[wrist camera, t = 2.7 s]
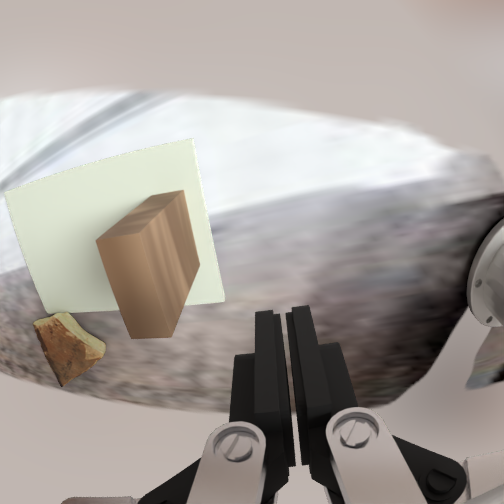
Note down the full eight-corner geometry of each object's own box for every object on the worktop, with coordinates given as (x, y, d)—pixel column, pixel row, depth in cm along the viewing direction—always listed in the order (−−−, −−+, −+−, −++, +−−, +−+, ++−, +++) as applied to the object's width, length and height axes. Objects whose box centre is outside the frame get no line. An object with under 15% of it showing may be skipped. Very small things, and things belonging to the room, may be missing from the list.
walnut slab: (183, 189, 23) (138, 233, 14) (200, 265, 25) (171, 337, 17) (151, 195, 23) (95, 240, 15) (170, 268, 25) (131, 338, 17)
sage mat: (193, 138, 22) (191, 138, 21) (225, 298, 27) (224, 301, 26) (8, 190, 23) (4, 192, 23) (50, 310, 29) (47, 313, 28)
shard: (65, 378, 33) (60, 389, 31) (18, 339, 30) (12, 349, 28) (110, 347, 30) (105, 359, 28) (54, 298, 27) (46, 309, 25)
